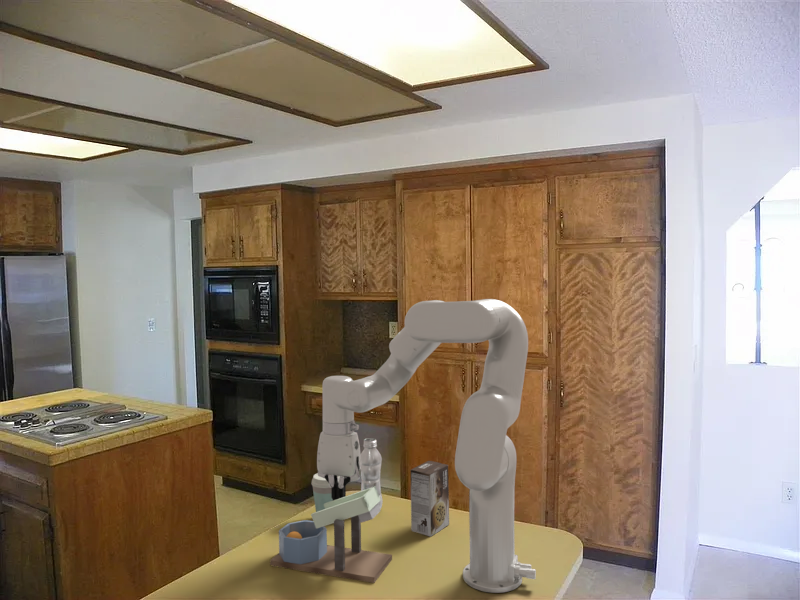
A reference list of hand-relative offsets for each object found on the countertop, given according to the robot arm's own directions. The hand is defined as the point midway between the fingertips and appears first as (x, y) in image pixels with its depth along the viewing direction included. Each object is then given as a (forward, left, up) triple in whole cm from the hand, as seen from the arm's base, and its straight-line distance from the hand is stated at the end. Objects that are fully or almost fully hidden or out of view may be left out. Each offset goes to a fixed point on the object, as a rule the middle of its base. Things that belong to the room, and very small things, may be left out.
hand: (338, 502), depth 143 cm
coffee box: (-18, -16, -11) cm, 27 cm away
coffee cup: (+10, -13, -11) cm, 20 cm away
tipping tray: (-7, +6, -1) cm, 9 cm away
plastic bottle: (+1, -22, -11) cm, 25 cm away
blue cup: (+5, +9, -9) cm, 14 cm away
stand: (-2, +9, -11) cm, 14 cm away
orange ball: (+8, +9, -7) cm, 13 cm away
